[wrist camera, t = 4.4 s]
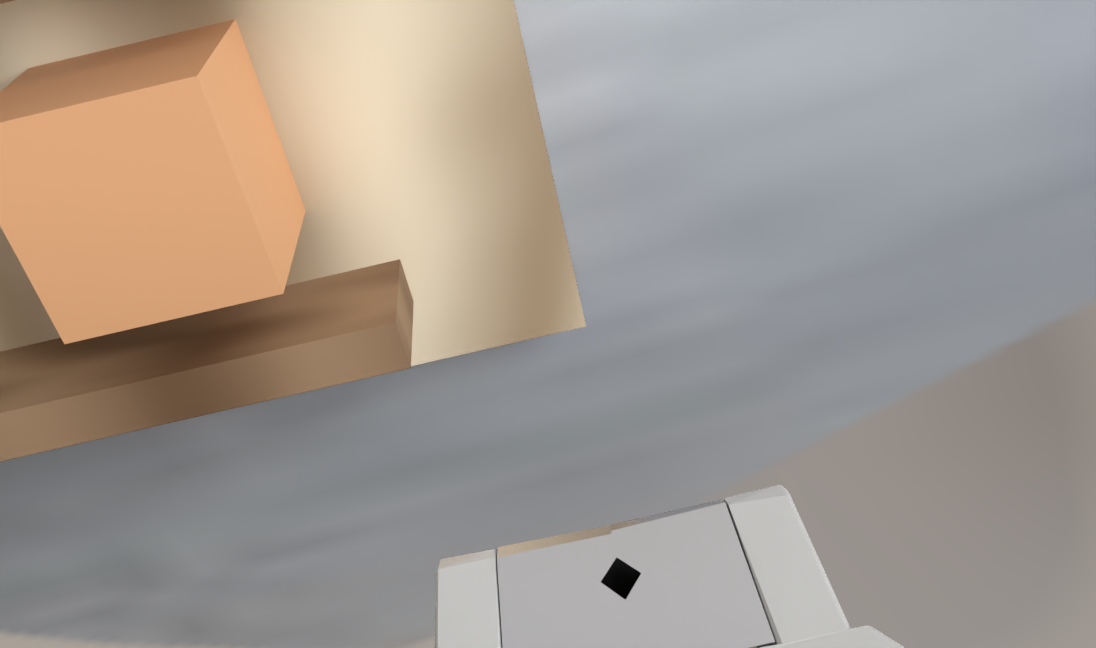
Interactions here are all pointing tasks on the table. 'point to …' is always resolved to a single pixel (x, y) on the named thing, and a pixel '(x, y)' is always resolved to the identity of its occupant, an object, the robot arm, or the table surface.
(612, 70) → the table surface
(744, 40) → the table surface
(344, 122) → the tunnel board
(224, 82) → the block
